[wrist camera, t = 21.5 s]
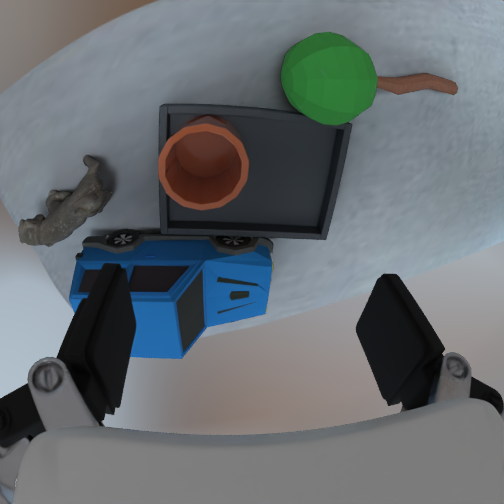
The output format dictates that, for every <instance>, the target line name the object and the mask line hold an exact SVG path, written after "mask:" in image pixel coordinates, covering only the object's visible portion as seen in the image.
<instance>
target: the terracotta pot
mask: <svg viewBox="0 0 504 504" xmlns="http://www.w3.org/2000/svg"><path fill="white" fill-rule="evenodd" d="M248 170H249V159H248V156H247V153H246V151H245V148H244V145H243V143H242V140H241V138H240V135H239V132H238V130H237V128H236V127H235V126H234V125H233V124H232V123H231V122H230V121H228V120H227V119H225V118H223V117H221V116H218V115H208V114H200V115H196V116H193V117H191V118H189V119H188V120H186V121H185V122H184V123H182V124H181V125H180V126H179V127H178V128H177V129H176V130H175V132H174V133H173V134H172V135H171V136H170V138H169V139H168V140H167V142H166V144H165V146H164V148H163V150H162V152H161V154H160V156H159V158H158V177H159V179H160V181H161V183H162V185H163V187H164V189H165V191H166V193H167V194H168V195H169V196H170V197H171V198H173V199H174V200H175V201H176V202H178V203H179V204H180V205H182V206H184V207H188V208H193V209H197V210H208V209H214V208H220V207H222V206H223V205H225V204H227V203H228V202H230V201H231V200H233V199H234V198H236V197H237V196H238V194H239V193H240V191H241V190H242V188H243V187H244V185H245V183H246V182H247V179H248Z"/></svg>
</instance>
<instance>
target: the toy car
mask: <svg viewBox="0 0 504 504" xmlns="http://www.w3.org/2000/svg"><path fill="white" fill-rule="evenodd" d="M139 235H140V237H139ZM139 235H138V232H136V231H132V230H128V229H126V230H122V231H117V232H114V233H113V234H112V235H110V236H109V235H104V236H90V237H87V238H85V239H84V241H83V243H82V245H83V251H82V252H81V253H78V254H77V255H76V260H77V262H76V266H75V271H74V276H73V280H72V285H71V290H70V296H69V300H70V303H71V305H72V308H73V310H74V313H75V312H76V310H77V308H78V305H79V303H80V301H81V300H82V299H83V298H87V297H88V295H89V293H90V291H91V288H92V286H93V284H94V282H95V280H96V278H97V276H98V274H99V272H100V270H101V268H102V266H103V264H104V263H118V264H120V265H121V267H122V268H125V269H126V272H127V278H128V283H129V289H130V294H131V299H132V304H133V309H134V314H135V318H136V333H135V337H134V341H133V346H132V350H131V354H130V357H142V358H172V359H182V358H183V357H184V355H185V354H186V353H187V352H188V350H189V349H190V348H191V347H192V345H193V344H194V343H195V342H196V340H197V339H198V338H199V337H200V335H201V334H202V333H203V332H204V330H205V329H206V328H207V327H210V326H215V325H219V324H224V323H228V322H234V321H238V320H242V319H246V318H250V317H254V316H258V315H263V314H265V313H266V312H267V301H268V295H269V288H270V281H271V273H272V271H273V261H272V251H273V242H272V241H271V240H270V239H268V238H265V237H240V236H217V237H216V236H210V235H175V234H139ZM105 237H106V238H105Z"/></svg>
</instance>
